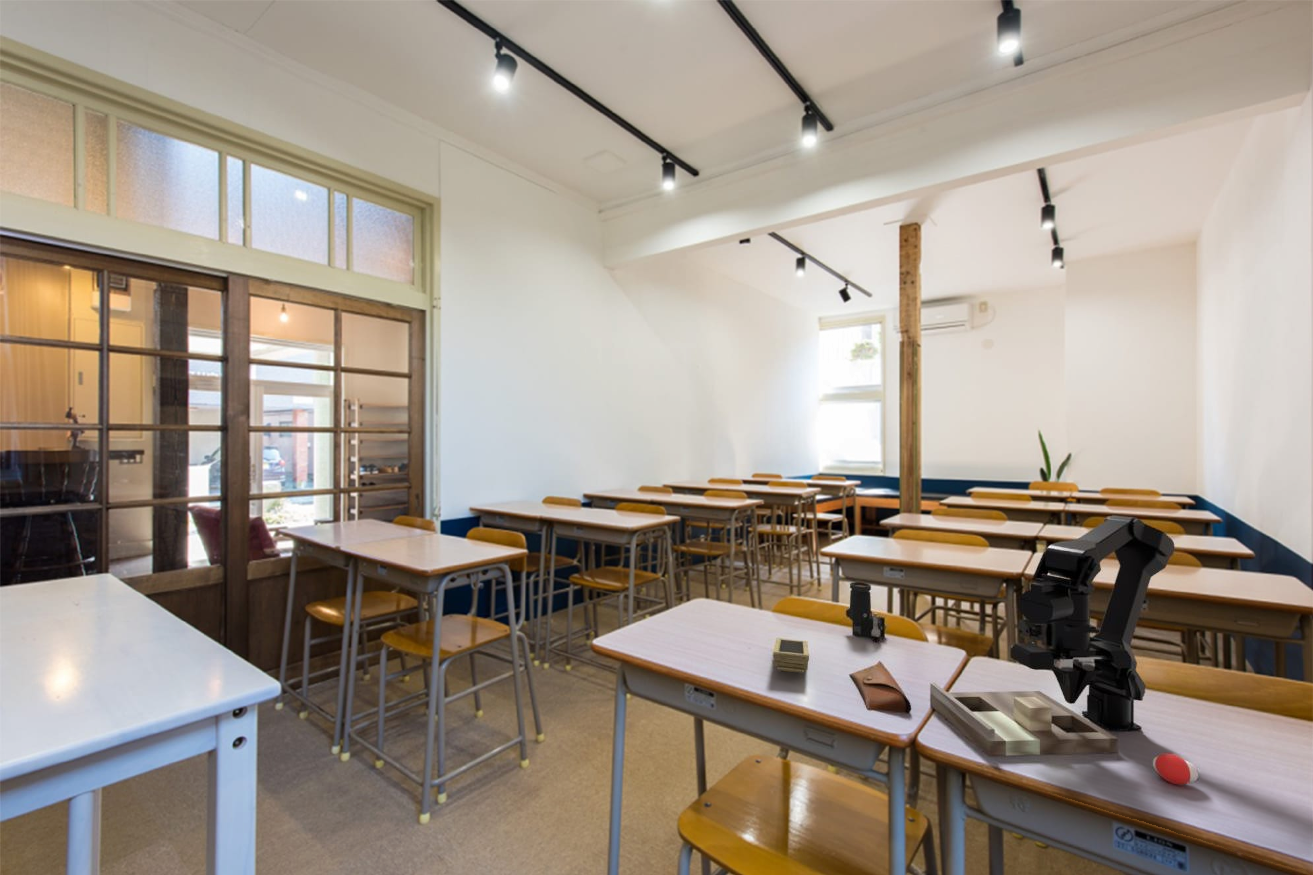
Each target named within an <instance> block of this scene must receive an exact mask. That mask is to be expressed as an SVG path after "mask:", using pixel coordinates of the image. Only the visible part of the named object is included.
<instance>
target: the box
mask: <svg viewBox="0 0 1313 875" xmlns="http://www.w3.org/2000/svg"><path fill="white" fill-rule="evenodd" d="M808 645H809V644H808V641H807V640H799V639H797V640H796V639H788V638H779V637H776V638H775V644H774V648H773V651H772V654H773V655H772V656H773V667H776V670H778V671H782V672H789V673H790V672H791V673H792V672H793V673H801V674H804V673H805V671H808V668H809V660H810V653H809V646H808Z"/></svg>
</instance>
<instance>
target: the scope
mask: <svg viewBox="0 0 1313 875" xmlns="http://www.w3.org/2000/svg"><path fill="white" fill-rule="evenodd" d="M849 588H850V592H849V593H850V594H849V595H850V596H849V608H847V609H846V610H845V616H846V618H849V619H850V620H851V621H852V622H851V623H852V626H851V627H852V632H851V633H852V636H854V637H858V638H865V639H870V640H871V641H872V642H877V643H881V642H882V639H885V637H886V635H885V632H886V629H887V624H886V620H885V619H886V617H884V616H878V613H877V612H873V611H872V603H871V602H872V600H871V592H870V591H871V590H872V585H871V584H870V583H867V582H862V581H861V582H860V581H853V582H850V583H849Z"/></svg>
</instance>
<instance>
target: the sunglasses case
mask: <svg viewBox="0 0 1313 875" xmlns="http://www.w3.org/2000/svg"><path fill="white" fill-rule="evenodd" d="M849 677H850V678H851V680H853V682H854V684H855V685H856V686H857V689H858V690H859V693H860V695H861V697H862V698H863V701H864V702H865V707H866V710H867V711H878V712H890V713H891V712H892V713H900V714H901V713H904V714H910V712H911V711H912V705H911V704H912V703H911V702H910V700H909V698H908V697H907V696H906V694H905V692H904V691H903V689H902V688H901V687H900V685H899V683H897V681H896V679H895V678H894V677H893V675H892V673H890V670H888V669H887V668H886V667H885V665H884V664H883V662H882V661H880V660H879V661H878V662H877V663H876V664H874V665H871V666H868V667H866V668H862V669H861V670H858V671H854V672H853V673H849Z"/></svg>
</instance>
